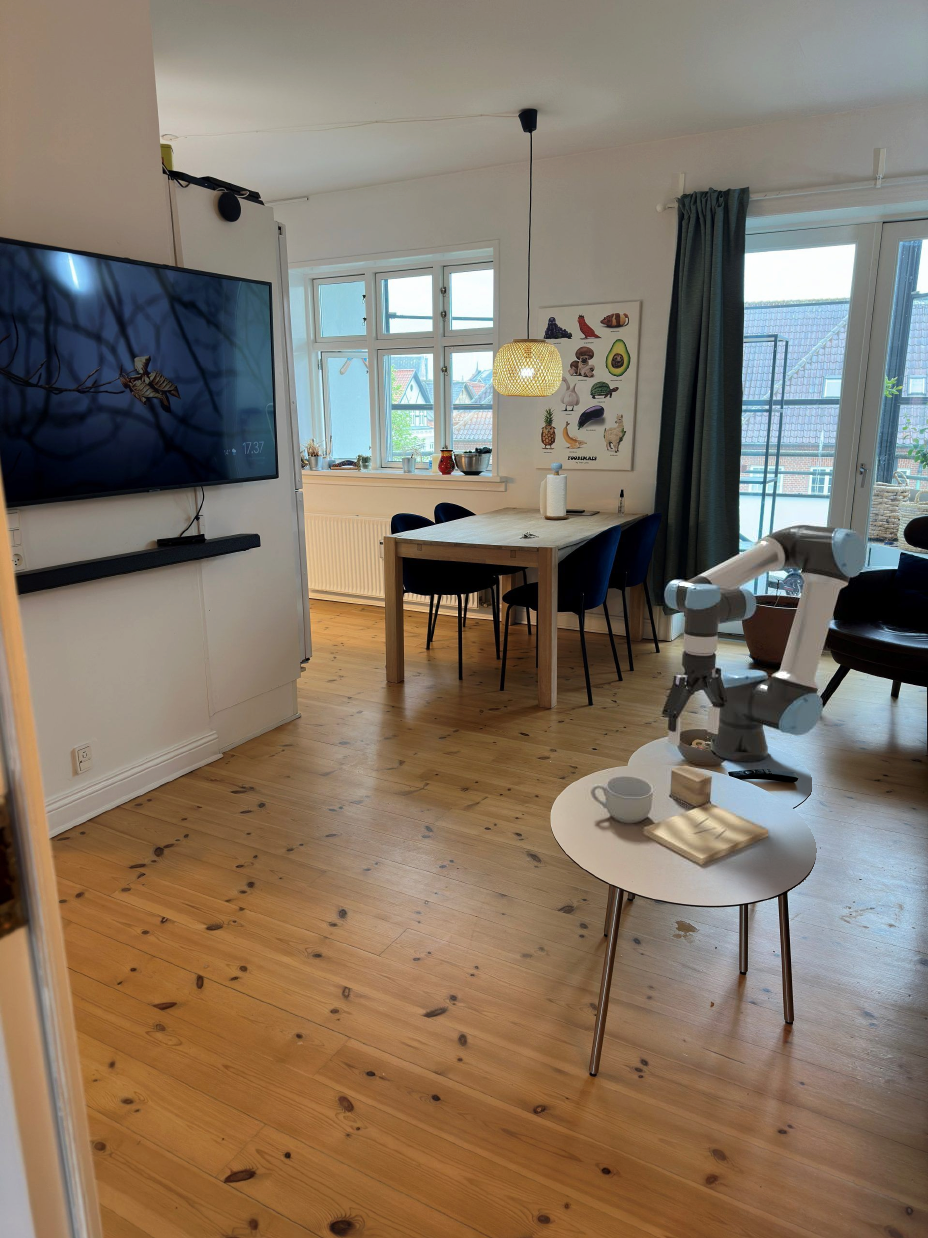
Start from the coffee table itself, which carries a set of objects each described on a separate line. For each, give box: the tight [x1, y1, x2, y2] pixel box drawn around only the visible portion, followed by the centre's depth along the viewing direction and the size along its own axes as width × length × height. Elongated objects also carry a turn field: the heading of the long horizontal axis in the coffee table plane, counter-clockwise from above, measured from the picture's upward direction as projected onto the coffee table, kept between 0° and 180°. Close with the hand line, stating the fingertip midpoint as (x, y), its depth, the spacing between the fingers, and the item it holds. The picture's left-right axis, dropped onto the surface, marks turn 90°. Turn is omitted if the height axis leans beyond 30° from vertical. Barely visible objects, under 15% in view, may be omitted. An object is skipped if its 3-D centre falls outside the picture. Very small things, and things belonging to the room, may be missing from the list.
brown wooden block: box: [668, 765, 713, 809], centre depth 195 cm, size 5×8×7 cm, turn 34°
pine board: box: [643, 802, 770, 866], centre depth 178 cm, size 22×16×2 cm
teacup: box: [590, 775, 654, 824], centre depth 186 cm, size 14×11×8 cm
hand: (693, 738), depth 192 cm, fingers open, 13 cm apart
